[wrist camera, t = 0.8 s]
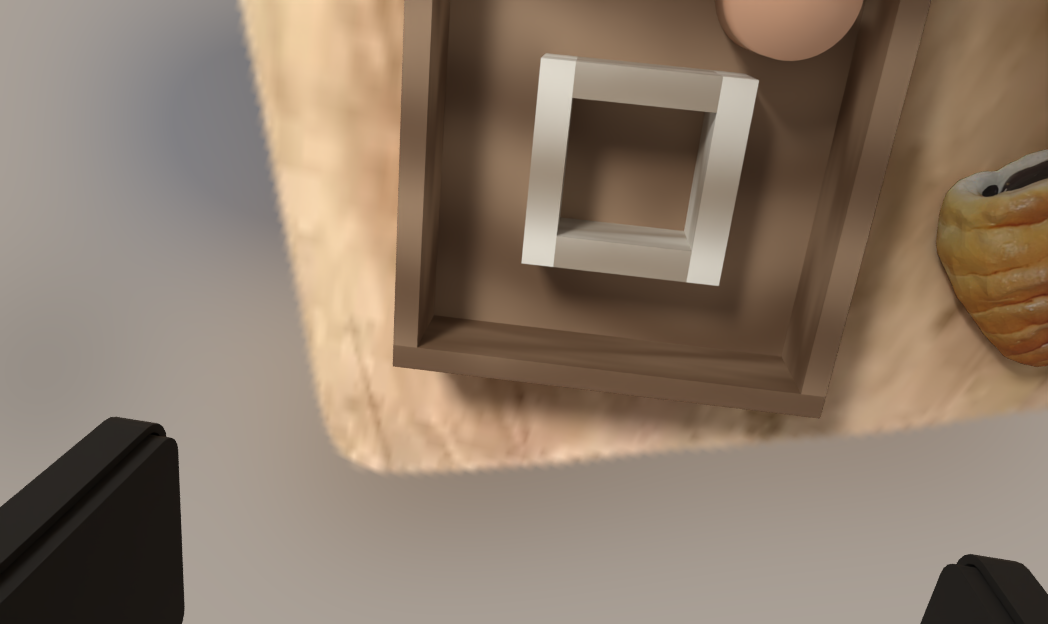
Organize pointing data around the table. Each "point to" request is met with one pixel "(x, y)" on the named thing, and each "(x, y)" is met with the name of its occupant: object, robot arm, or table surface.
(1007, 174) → the pastry
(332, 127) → the table surface
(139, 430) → the robot arm
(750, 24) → the ball
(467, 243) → the crate
